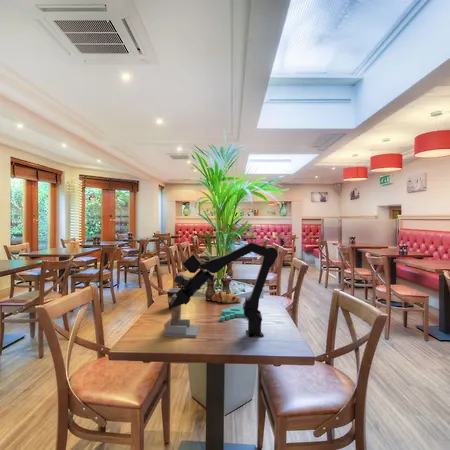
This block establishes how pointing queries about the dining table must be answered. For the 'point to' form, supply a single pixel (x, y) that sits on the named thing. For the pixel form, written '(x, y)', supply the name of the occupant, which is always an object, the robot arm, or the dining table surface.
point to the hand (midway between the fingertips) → (173, 305)
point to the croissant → (225, 297)
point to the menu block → (175, 311)
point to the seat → (180, 328)
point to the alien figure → (232, 313)
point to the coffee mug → (170, 293)
